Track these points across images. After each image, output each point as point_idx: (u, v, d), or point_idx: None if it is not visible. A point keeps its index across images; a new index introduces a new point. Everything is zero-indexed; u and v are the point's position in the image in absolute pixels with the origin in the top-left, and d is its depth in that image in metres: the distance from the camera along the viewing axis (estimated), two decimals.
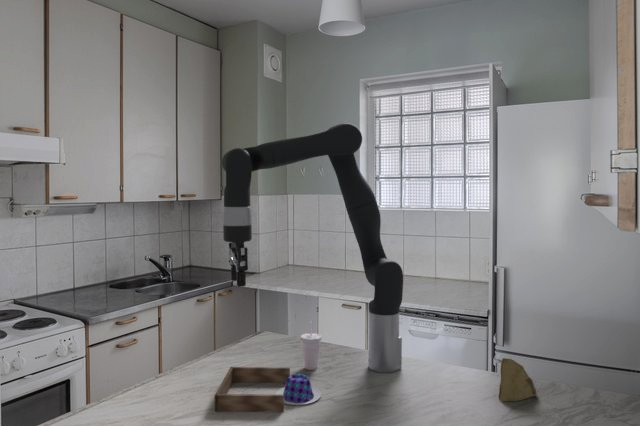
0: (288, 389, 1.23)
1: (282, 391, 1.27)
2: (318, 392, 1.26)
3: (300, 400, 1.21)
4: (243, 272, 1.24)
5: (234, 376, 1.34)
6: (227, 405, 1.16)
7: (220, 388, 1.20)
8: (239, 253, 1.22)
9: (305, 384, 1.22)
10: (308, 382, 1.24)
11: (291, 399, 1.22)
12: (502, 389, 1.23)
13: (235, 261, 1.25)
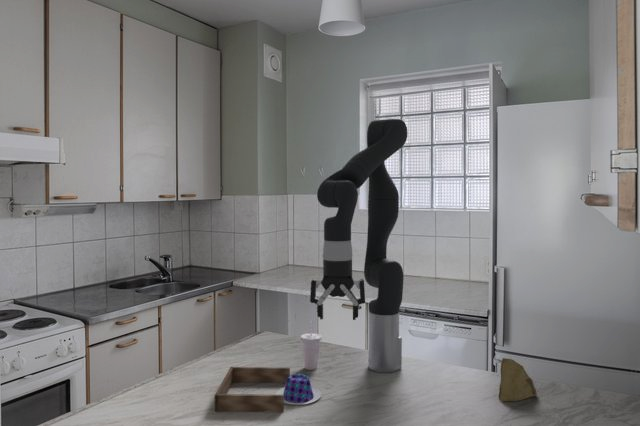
0: (288, 389, 1.23)
1: (282, 391, 1.27)
2: (318, 392, 1.26)
3: (300, 400, 1.21)
4: None
5: (234, 376, 1.34)
6: (227, 405, 1.16)
7: (220, 388, 1.20)
8: None
9: (305, 384, 1.22)
10: (308, 382, 1.24)
11: (291, 399, 1.22)
12: (502, 389, 1.23)
13: (352, 295, 1.22)
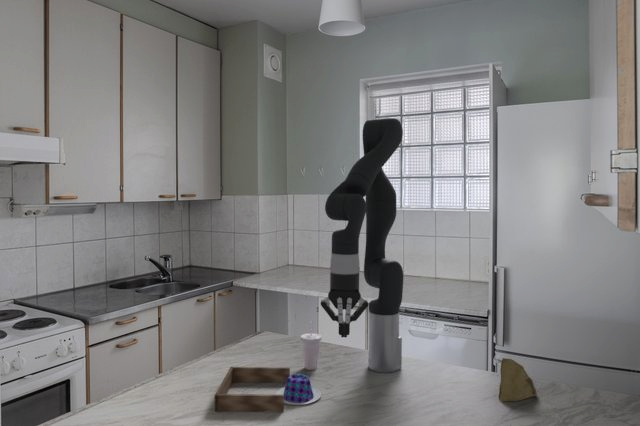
0: (288, 389, 1.22)
1: (281, 392, 1.27)
2: (318, 392, 1.26)
3: (301, 400, 1.21)
4: None
5: (234, 376, 1.34)
6: (227, 405, 1.16)
7: (220, 388, 1.20)
8: None
9: (305, 384, 1.22)
10: (308, 382, 1.24)
11: (291, 399, 1.22)
12: (502, 389, 1.23)
13: (350, 313, 1.22)
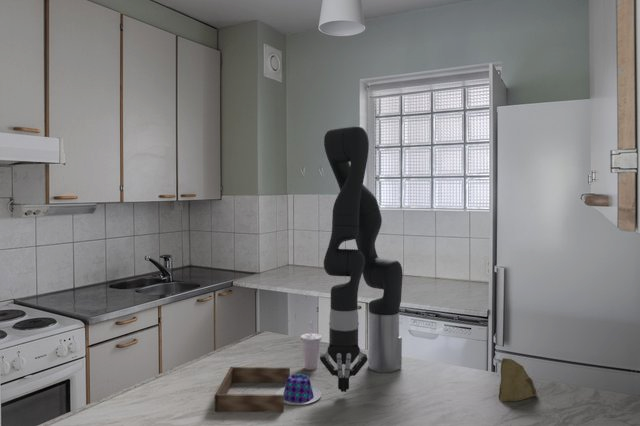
0: (289, 389, 1.22)
1: (281, 392, 1.27)
2: (318, 392, 1.27)
3: (301, 400, 1.22)
4: None
5: (234, 376, 1.34)
6: (227, 405, 1.16)
7: (220, 388, 1.20)
8: None
9: (306, 384, 1.23)
10: (308, 382, 1.24)
11: (292, 399, 1.22)
12: (502, 389, 1.23)
13: (349, 367, 1.23)
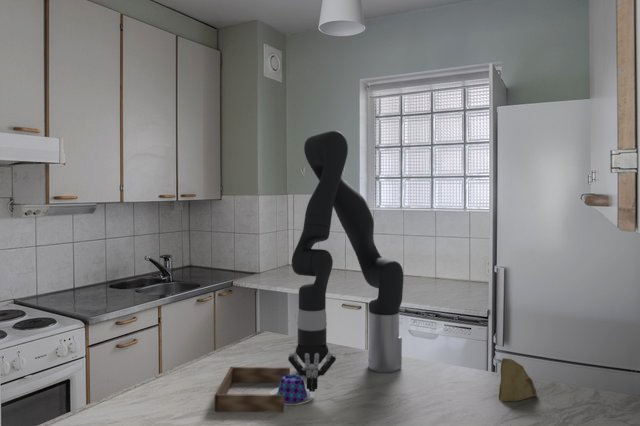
0: (283, 390, 1.22)
1: (274, 393, 1.27)
2: None
3: (296, 400, 1.22)
4: None
5: (234, 376, 1.34)
6: (227, 405, 1.16)
7: (220, 388, 1.20)
8: None
9: (300, 384, 1.23)
10: (302, 382, 1.24)
11: (286, 399, 1.22)
12: (502, 389, 1.23)
13: None
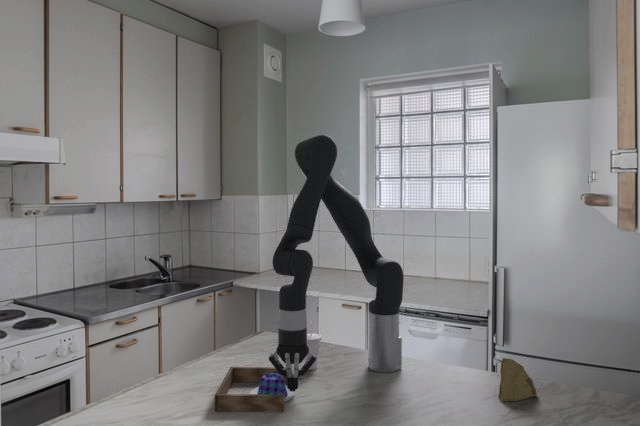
0: (263, 389, 1.23)
1: (255, 392, 1.27)
2: None
3: None
4: None
5: (234, 376, 1.34)
6: (227, 405, 1.16)
7: (220, 388, 1.20)
8: None
9: (280, 383, 1.23)
10: (282, 380, 1.25)
11: None
12: (502, 389, 1.23)
13: (298, 367, 1.23)
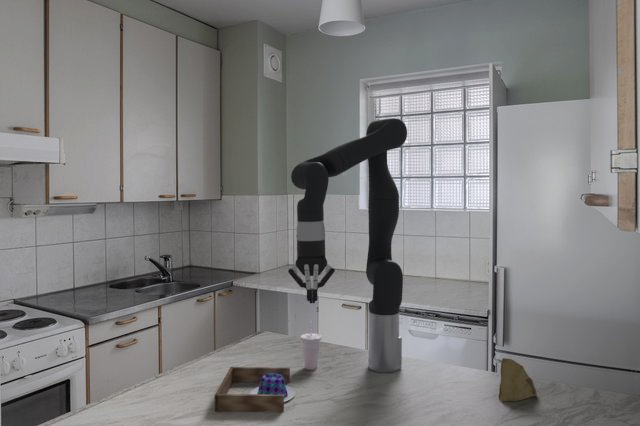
0: (263, 389, 1.23)
1: (255, 392, 1.27)
2: (292, 390, 1.28)
3: None
4: None
5: (234, 376, 1.34)
6: (227, 405, 1.16)
7: (220, 388, 1.20)
8: None
9: (280, 383, 1.23)
10: (283, 380, 1.25)
11: None
12: (502, 389, 1.23)
13: (317, 279, 1.25)
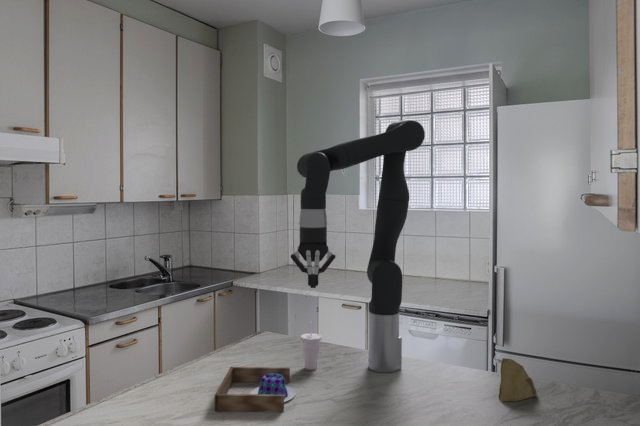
0: (263, 389, 1.23)
1: (255, 392, 1.27)
2: (292, 390, 1.28)
3: None
4: None
5: (234, 376, 1.34)
6: (227, 405, 1.16)
7: (220, 388, 1.20)
8: None
9: (280, 383, 1.23)
10: (283, 380, 1.25)
11: None
12: (502, 389, 1.23)
13: (318, 264, 1.31)
